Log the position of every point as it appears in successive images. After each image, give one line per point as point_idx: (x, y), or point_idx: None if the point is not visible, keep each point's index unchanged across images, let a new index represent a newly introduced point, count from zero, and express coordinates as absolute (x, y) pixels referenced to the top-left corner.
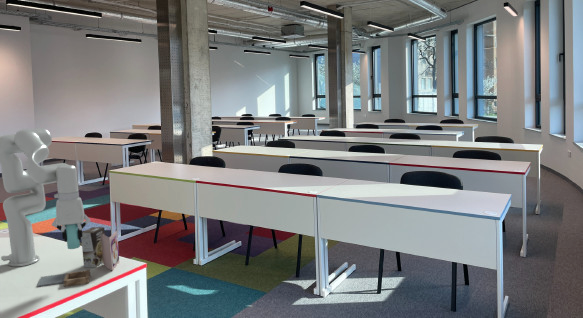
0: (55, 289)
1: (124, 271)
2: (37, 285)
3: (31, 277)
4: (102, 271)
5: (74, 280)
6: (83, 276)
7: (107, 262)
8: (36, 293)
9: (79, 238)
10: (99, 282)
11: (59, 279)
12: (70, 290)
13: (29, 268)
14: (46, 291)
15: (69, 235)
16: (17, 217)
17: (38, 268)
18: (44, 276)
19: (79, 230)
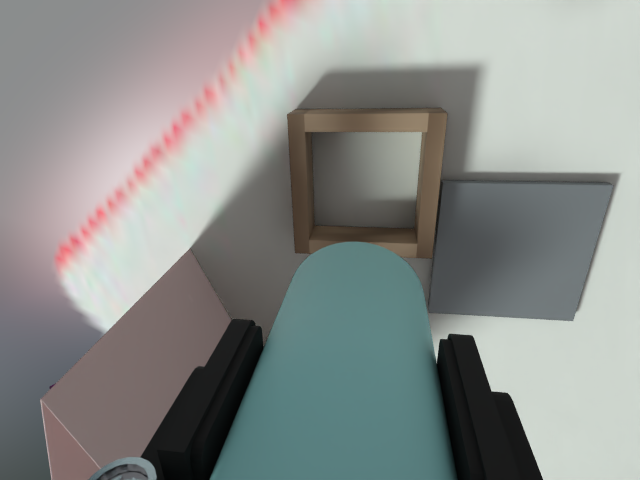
0: (498, 84)
1: (124, 218)
2: (611, 186)
3: (620, 351)
4: (243, 270)
5: (376, 113)
6: (335, 227)
7: (210, 323)
8: (627, 58)
9: (240, 329)
10: (231, 95)
11: (471, 232)
12: (400, 18)
13: (614, 469)
14: (558, 70)
15: (386, 381)
16: None
17: (570, 450)
18: (554, 318)
19: (160, 449)
